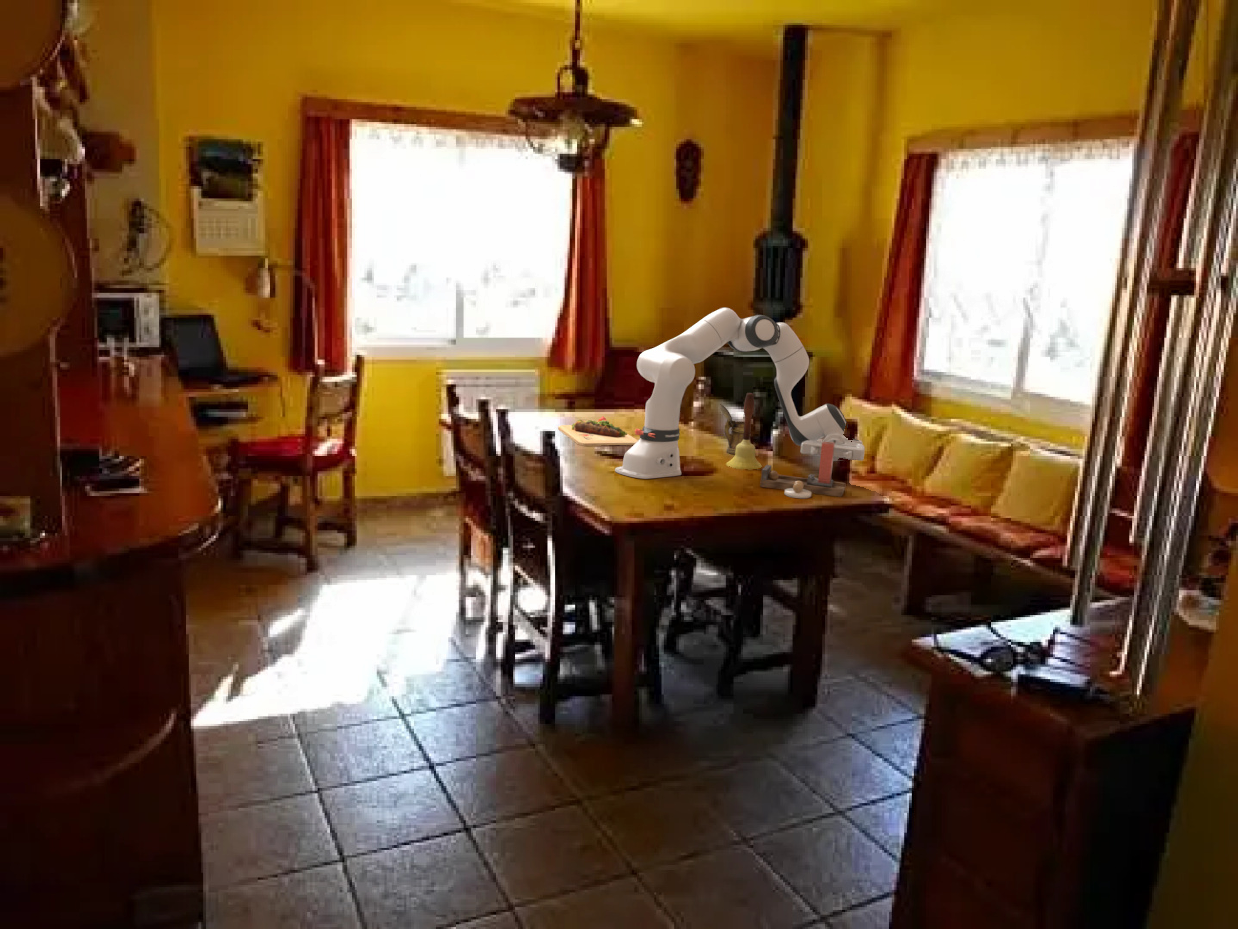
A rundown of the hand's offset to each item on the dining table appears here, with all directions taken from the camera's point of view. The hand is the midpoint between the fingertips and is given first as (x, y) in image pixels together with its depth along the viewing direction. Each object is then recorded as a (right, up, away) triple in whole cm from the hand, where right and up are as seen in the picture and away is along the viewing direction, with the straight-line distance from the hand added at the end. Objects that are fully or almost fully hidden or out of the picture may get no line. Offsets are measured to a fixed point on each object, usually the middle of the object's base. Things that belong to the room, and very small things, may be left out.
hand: (829, 454), depth 307 cm
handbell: (-24, -4, +24) cm, 34 cm away
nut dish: (-13, -12, -14) cm, 23 cm away
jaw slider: (-5, -10, -7) cm, 13 cm away
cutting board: (-75, +7, +62) cm, 97 cm away
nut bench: (-10, -11, -5) cm, 15 cm away
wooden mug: (-26, +1, +44) cm, 51 cm away
